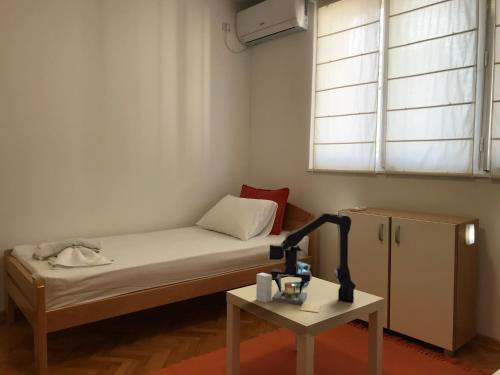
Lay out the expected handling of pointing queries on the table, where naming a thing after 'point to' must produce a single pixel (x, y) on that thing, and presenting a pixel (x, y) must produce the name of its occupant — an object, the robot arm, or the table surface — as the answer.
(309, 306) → the pad
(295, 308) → the table surface
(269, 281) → the skincare box
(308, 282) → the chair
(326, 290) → the table surface
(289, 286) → the brass flared knob
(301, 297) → the grey flat rectangular frame
